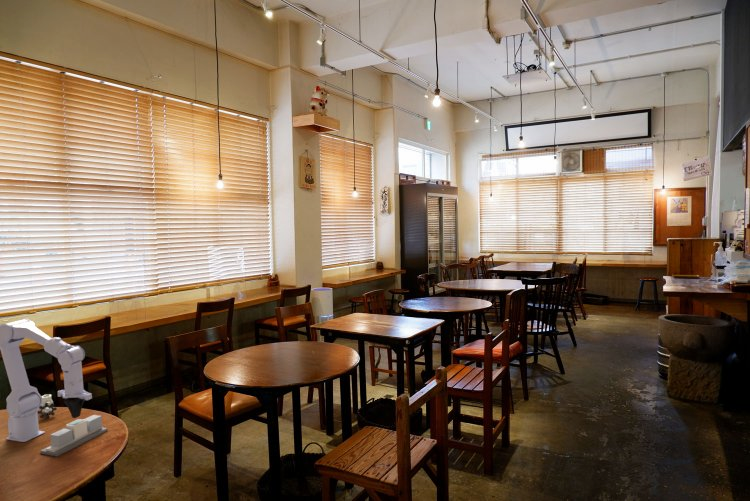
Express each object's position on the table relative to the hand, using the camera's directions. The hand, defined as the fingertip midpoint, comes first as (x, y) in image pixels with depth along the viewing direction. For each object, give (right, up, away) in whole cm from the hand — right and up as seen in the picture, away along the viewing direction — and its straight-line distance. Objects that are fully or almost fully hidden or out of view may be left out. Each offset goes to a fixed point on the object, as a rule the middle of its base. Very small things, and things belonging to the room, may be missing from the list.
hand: (76, 416), depth 170 cm
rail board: (0, -9, 0) cm, 9 cm away
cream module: (0, -7, 0) cm, 7 cm away
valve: (-29, -8, +26) cm, 40 cm away
